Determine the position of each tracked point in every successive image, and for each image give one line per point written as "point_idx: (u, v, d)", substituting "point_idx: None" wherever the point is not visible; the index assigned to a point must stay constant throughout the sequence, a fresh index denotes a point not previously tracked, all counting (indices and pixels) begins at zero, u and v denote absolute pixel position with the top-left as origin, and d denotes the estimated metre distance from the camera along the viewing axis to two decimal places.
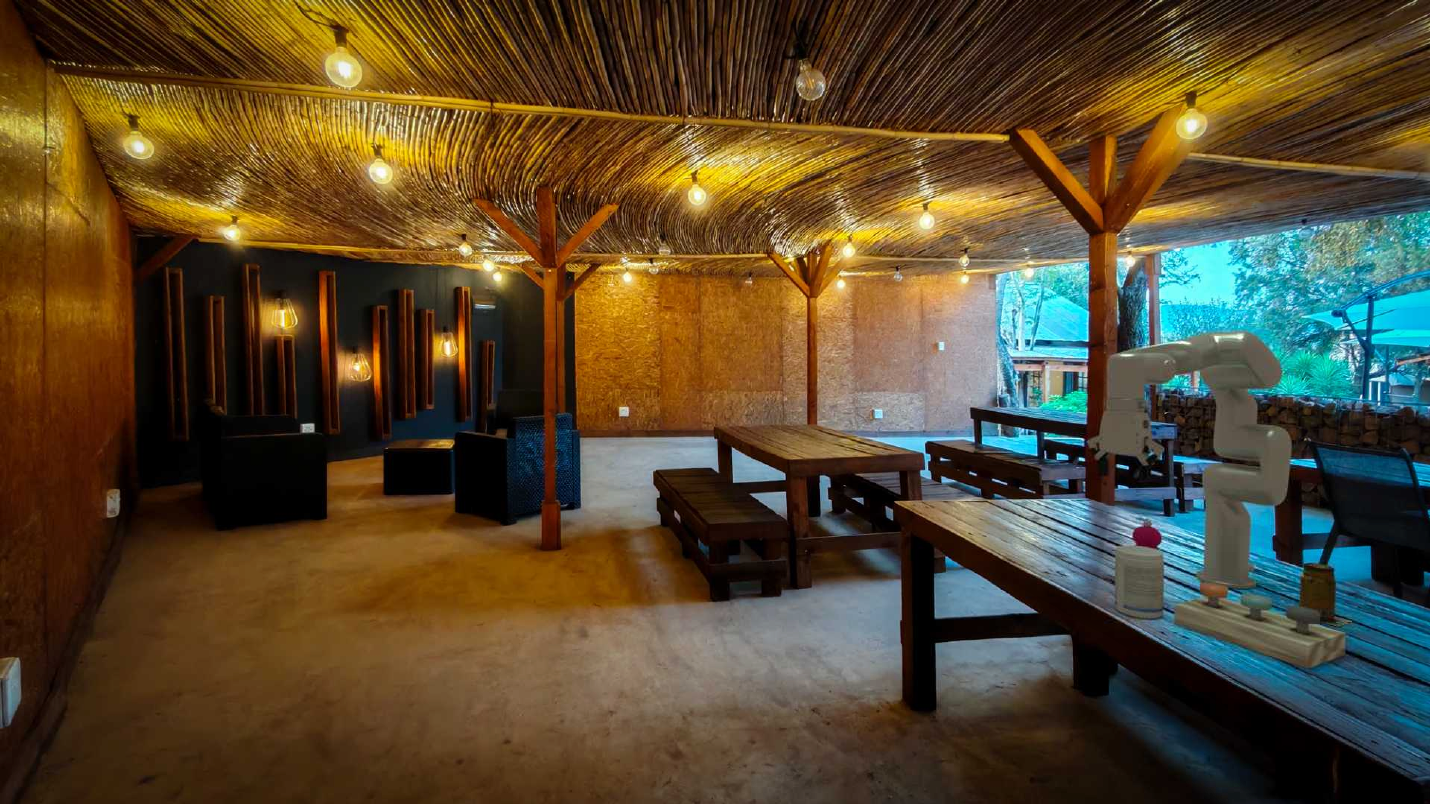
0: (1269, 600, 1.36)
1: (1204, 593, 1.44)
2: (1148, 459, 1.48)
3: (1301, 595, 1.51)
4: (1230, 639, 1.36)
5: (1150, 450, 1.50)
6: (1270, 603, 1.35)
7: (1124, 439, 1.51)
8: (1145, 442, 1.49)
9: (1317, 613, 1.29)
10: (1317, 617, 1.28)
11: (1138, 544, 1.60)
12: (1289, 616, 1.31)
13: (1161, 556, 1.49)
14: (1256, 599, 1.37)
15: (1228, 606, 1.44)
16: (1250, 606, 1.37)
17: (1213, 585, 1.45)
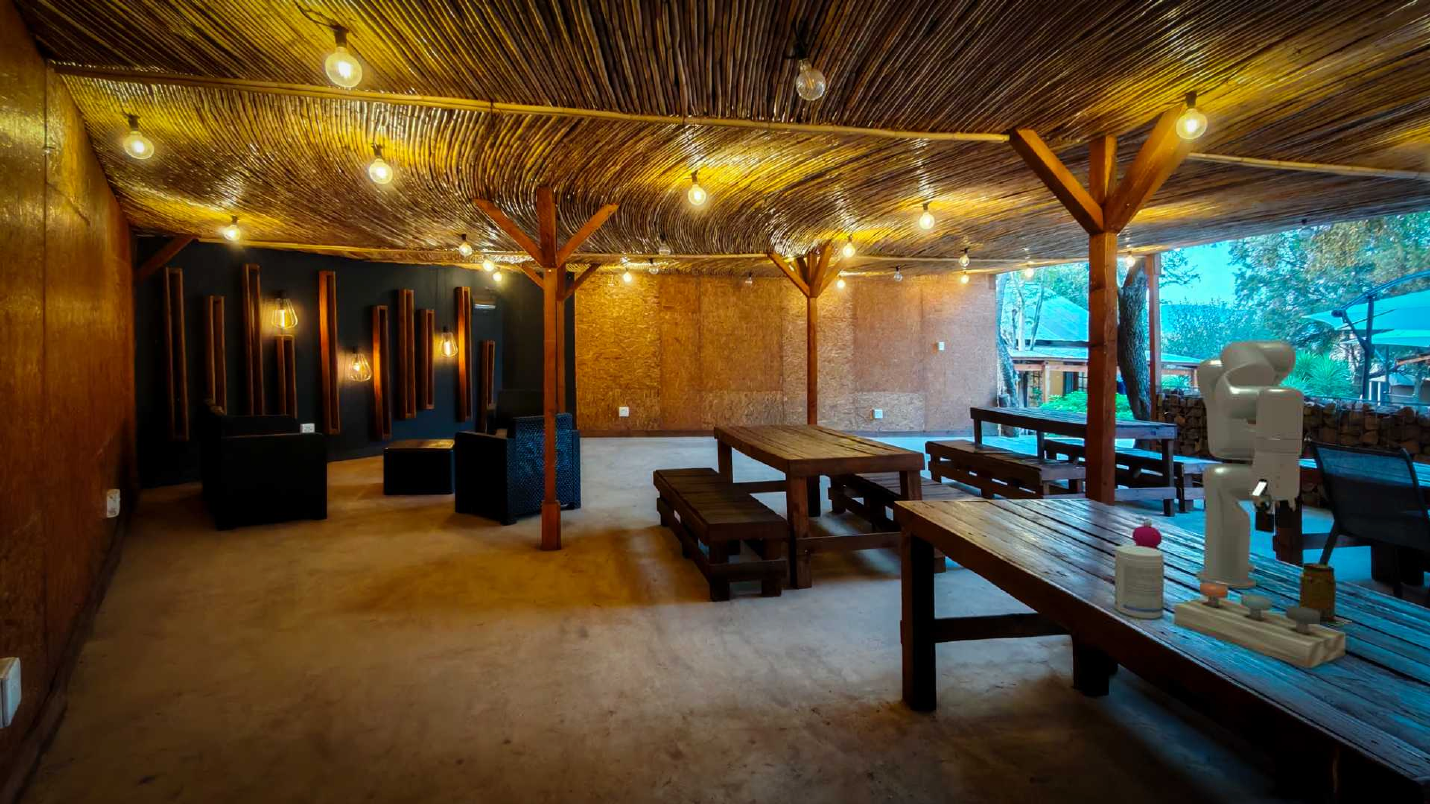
0: (1269, 600, 1.36)
1: (1204, 593, 1.44)
2: None
3: (1301, 595, 1.51)
4: (1230, 639, 1.36)
5: None
6: (1270, 603, 1.35)
7: (1294, 482, 1.37)
8: None
9: (1317, 613, 1.29)
10: (1317, 617, 1.28)
11: (1138, 544, 1.60)
12: (1289, 616, 1.31)
13: (1161, 556, 1.49)
14: (1256, 599, 1.37)
15: (1228, 606, 1.44)
16: (1250, 606, 1.37)
17: (1213, 585, 1.45)
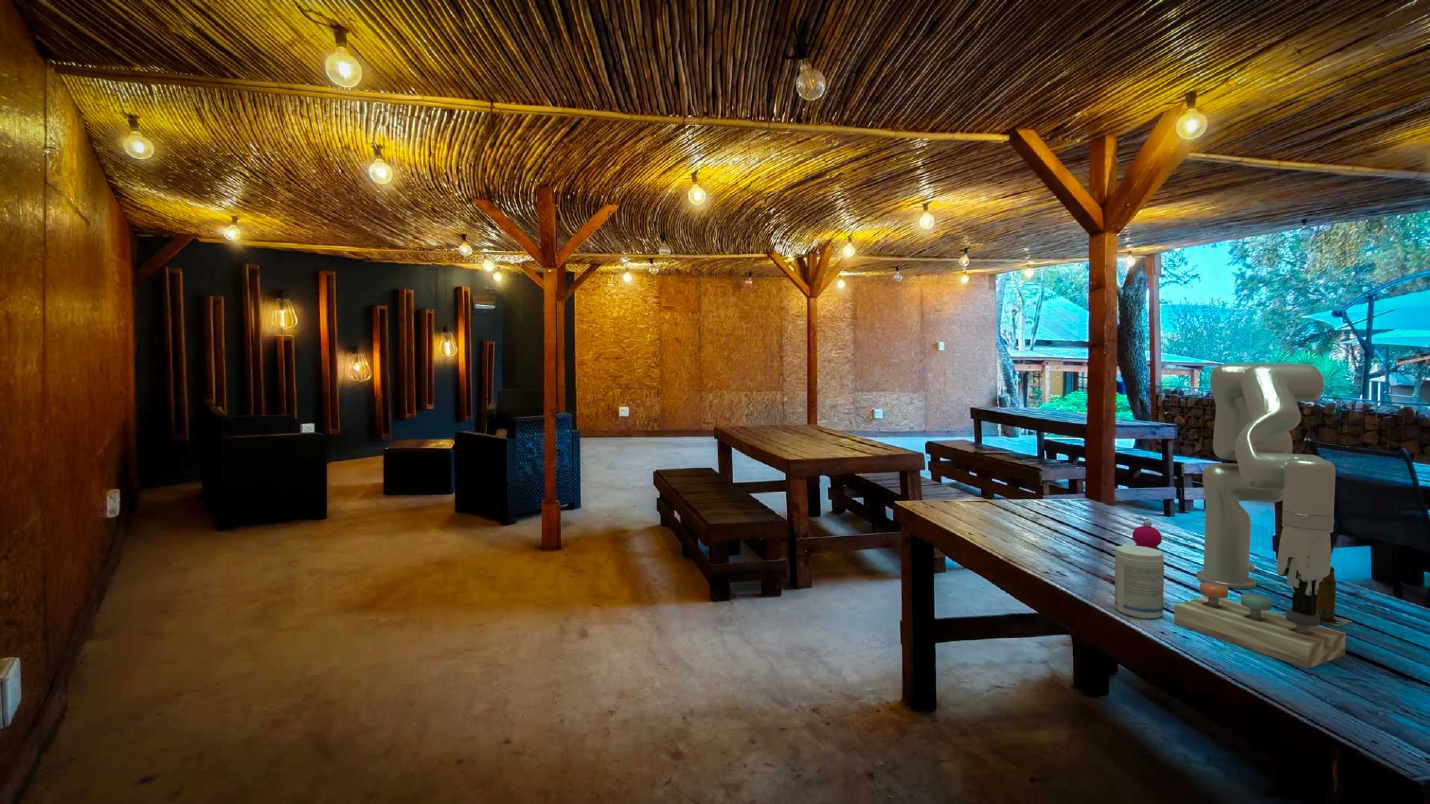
0: (1269, 600, 1.36)
1: (1204, 593, 1.44)
2: None
3: None
4: (1230, 639, 1.36)
5: None
6: (1270, 603, 1.35)
7: (1325, 560, 1.28)
8: None
9: (1317, 615, 1.29)
10: (1317, 619, 1.28)
11: (1138, 544, 1.60)
12: (1289, 618, 1.31)
13: (1161, 556, 1.49)
14: (1256, 599, 1.37)
15: (1228, 606, 1.44)
16: (1250, 606, 1.37)
17: (1213, 585, 1.45)
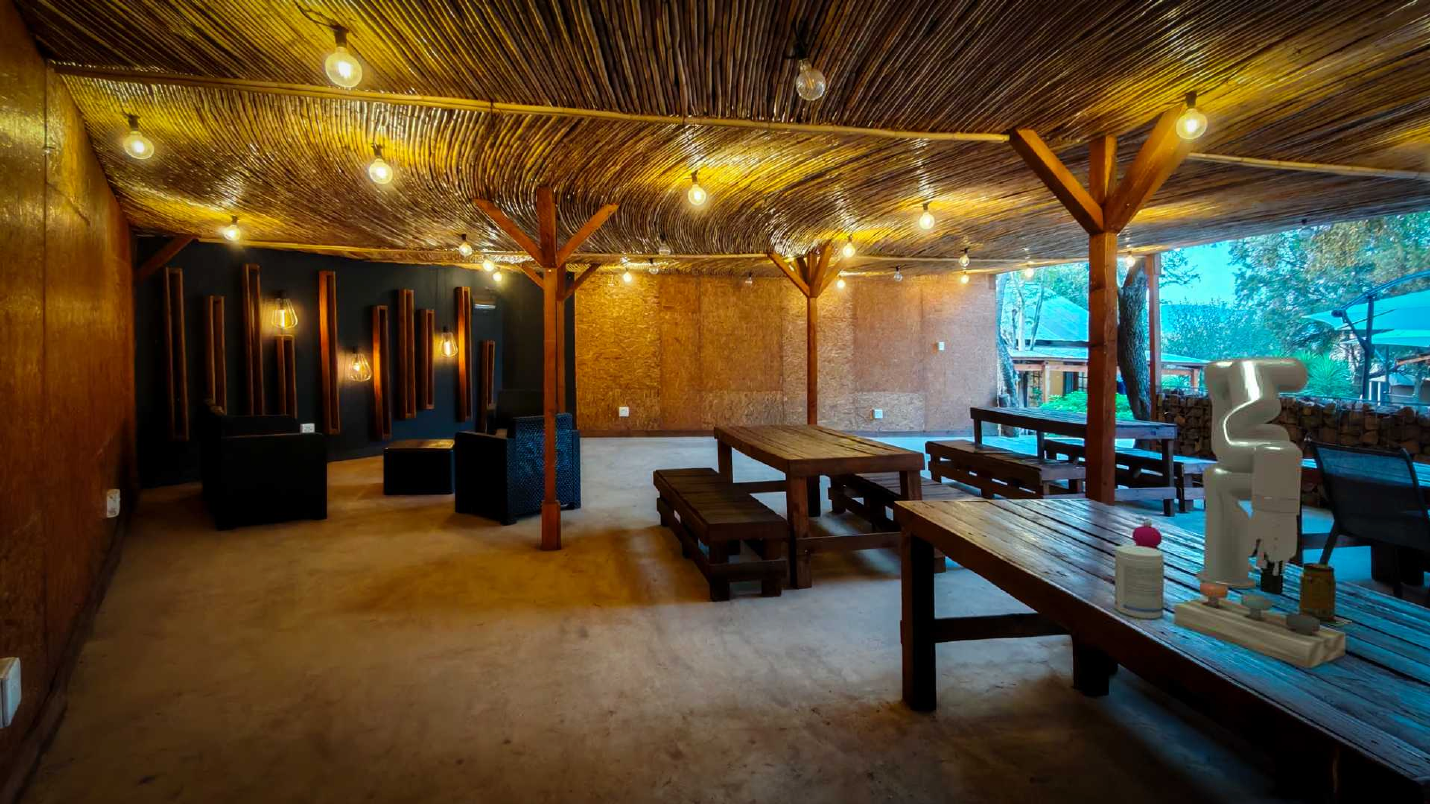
0: (1269, 600, 1.36)
1: (1204, 593, 1.44)
2: None
3: (1301, 595, 1.51)
4: (1230, 639, 1.36)
5: None
6: (1270, 603, 1.35)
7: (1291, 542, 1.33)
8: None
9: (1317, 621, 1.29)
10: (1316, 624, 1.28)
11: (1138, 544, 1.60)
12: (1289, 624, 1.31)
13: (1161, 556, 1.49)
14: (1256, 599, 1.37)
15: (1228, 606, 1.44)
16: (1250, 606, 1.37)
17: (1213, 585, 1.45)
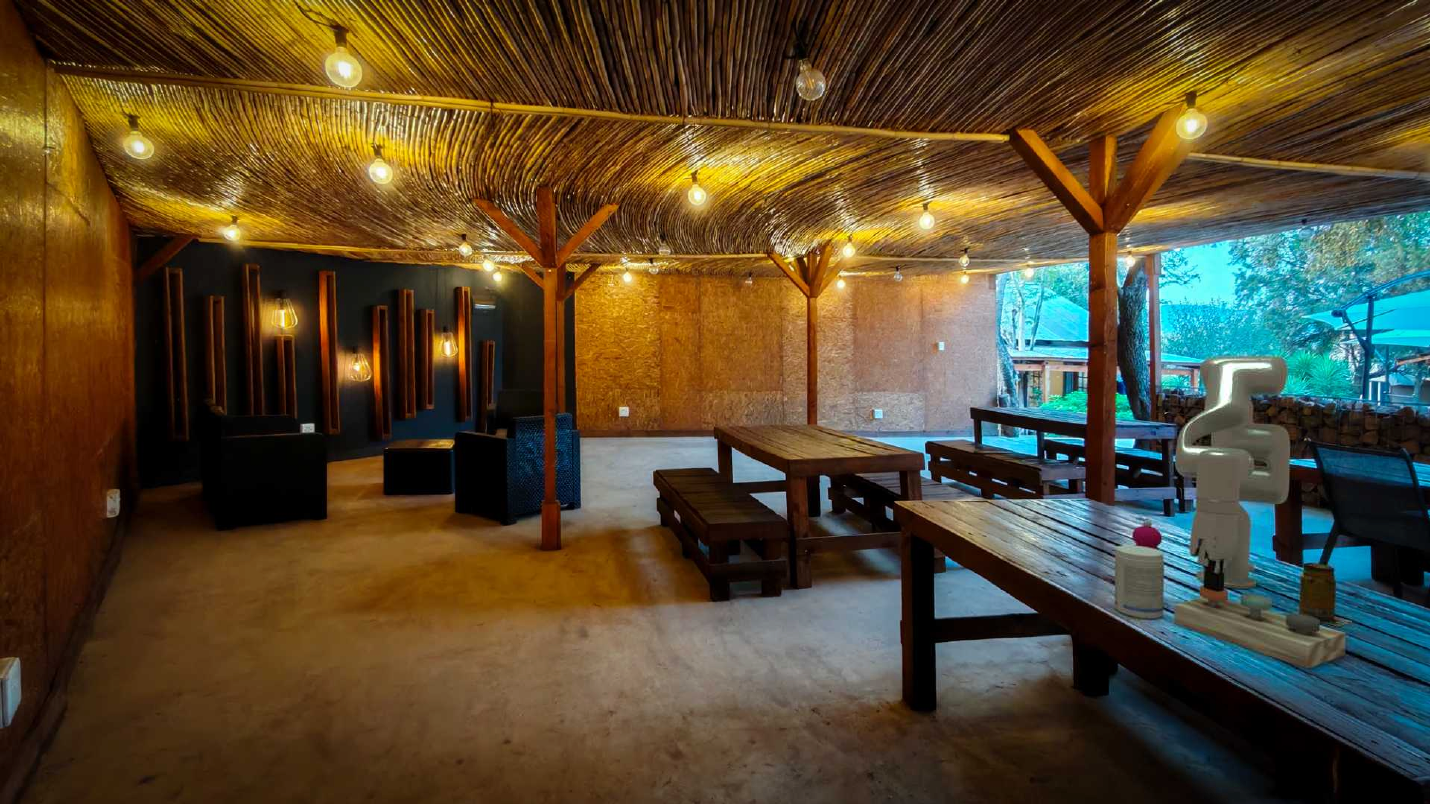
0: (1269, 600, 1.36)
1: (1204, 596, 1.45)
2: None
3: (1301, 595, 1.51)
4: (1230, 639, 1.36)
5: None
6: (1270, 603, 1.35)
7: (1231, 542, 1.43)
8: None
9: (1317, 621, 1.29)
10: (1316, 624, 1.28)
11: (1138, 544, 1.60)
12: (1289, 624, 1.31)
13: (1161, 556, 1.49)
14: (1256, 599, 1.37)
15: (1228, 606, 1.44)
16: (1250, 606, 1.37)
17: None
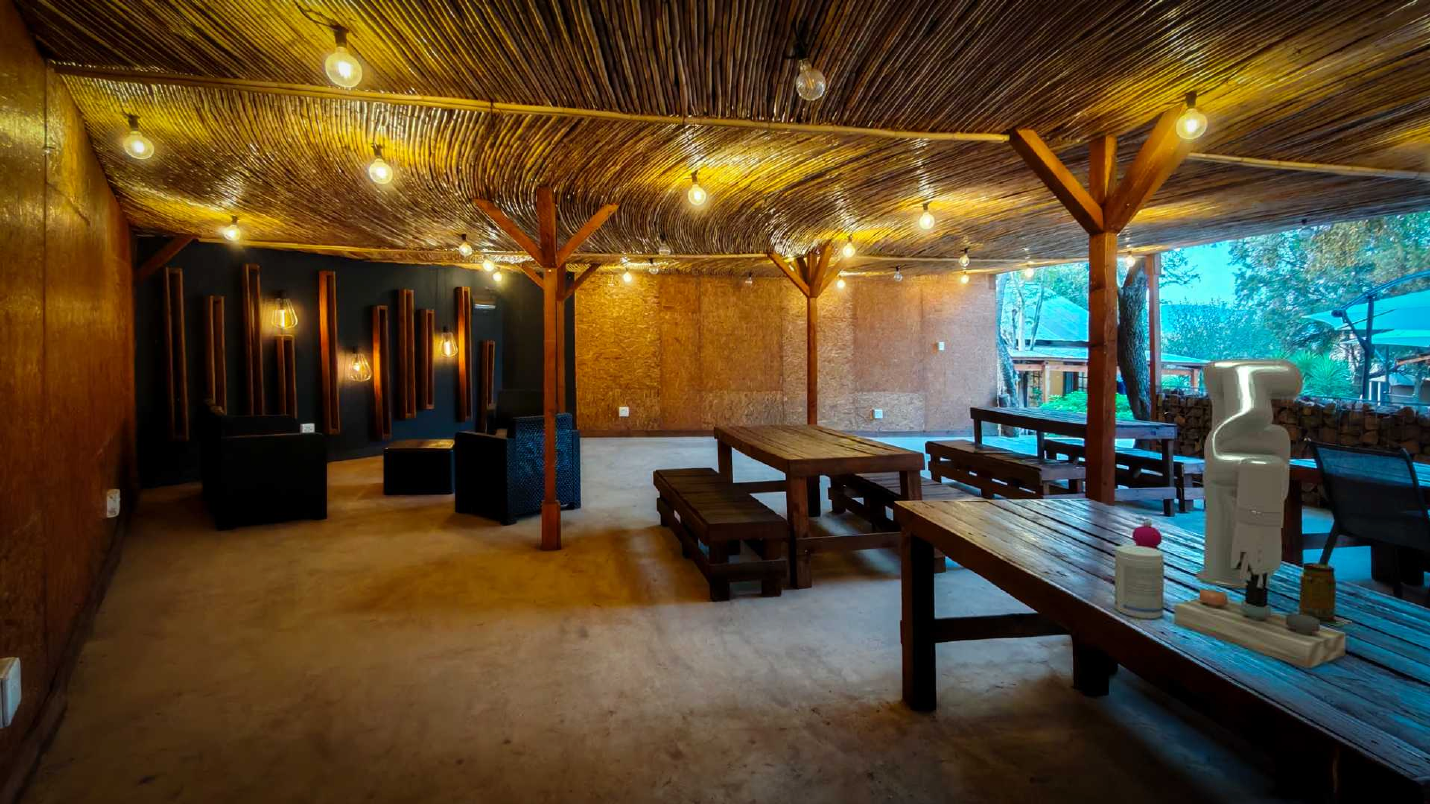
0: (1269, 607, 1.36)
1: (1204, 600, 1.45)
2: None
3: (1301, 595, 1.51)
4: (1230, 639, 1.36)
5: None
6: (1269, 610, 1.36)
7: (1275, 555, 1.36)
8: None
9: (1317, 621, 1.29)
10: (1316, 624, 1.28)
11: (1138, 544, 1.60)
12: (1289, 624, 1.31)
13: (1161, 556, 1.49)
14: (1255, 606, 1.37)
15: (1228, 606, 1.44)
16: (1250, 613, 1.37)
17: (1213, 592, 1.46)
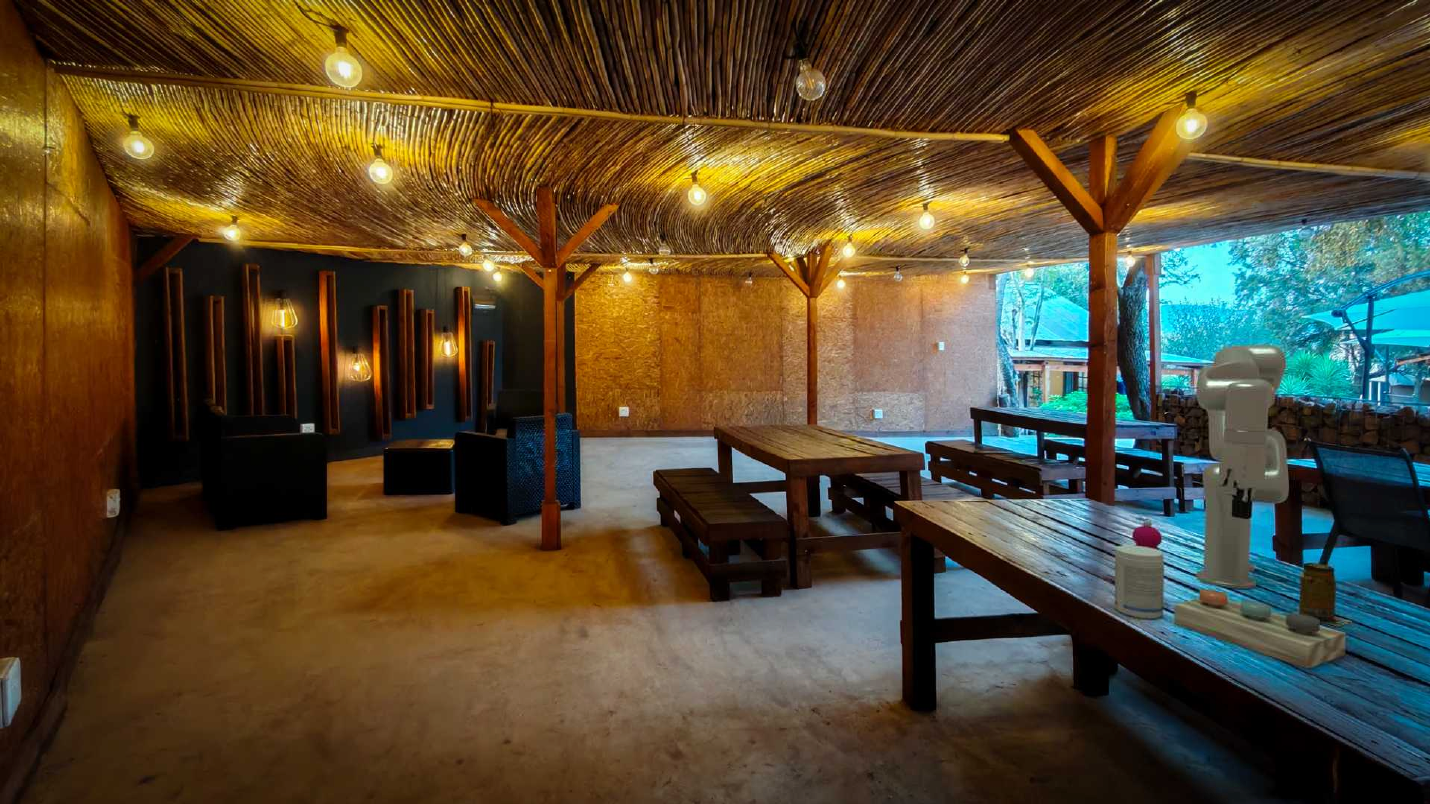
0: (1269, 607, 1.36)
1: (1204, 600, 1.45)
2: None
3: (1301, 595, 1.51)
4: (1230, 639, 1.36)
5: None
6: (1269, 610, 1.36)
7: (1259, 471, 1.46)
8: None
9: (1317, 621, 1.29)
10: (1316, 624, 1.28)
11: (1138, 544, 1.60)
12: (1289, 624, 1.31)
13: (1161, 556, 1.49)
14: (1255, 606, 1.37)
15: (1228, 606, 1.44)
16: (1250, 613, 1.37)
17: (1213, 592, 1.46)
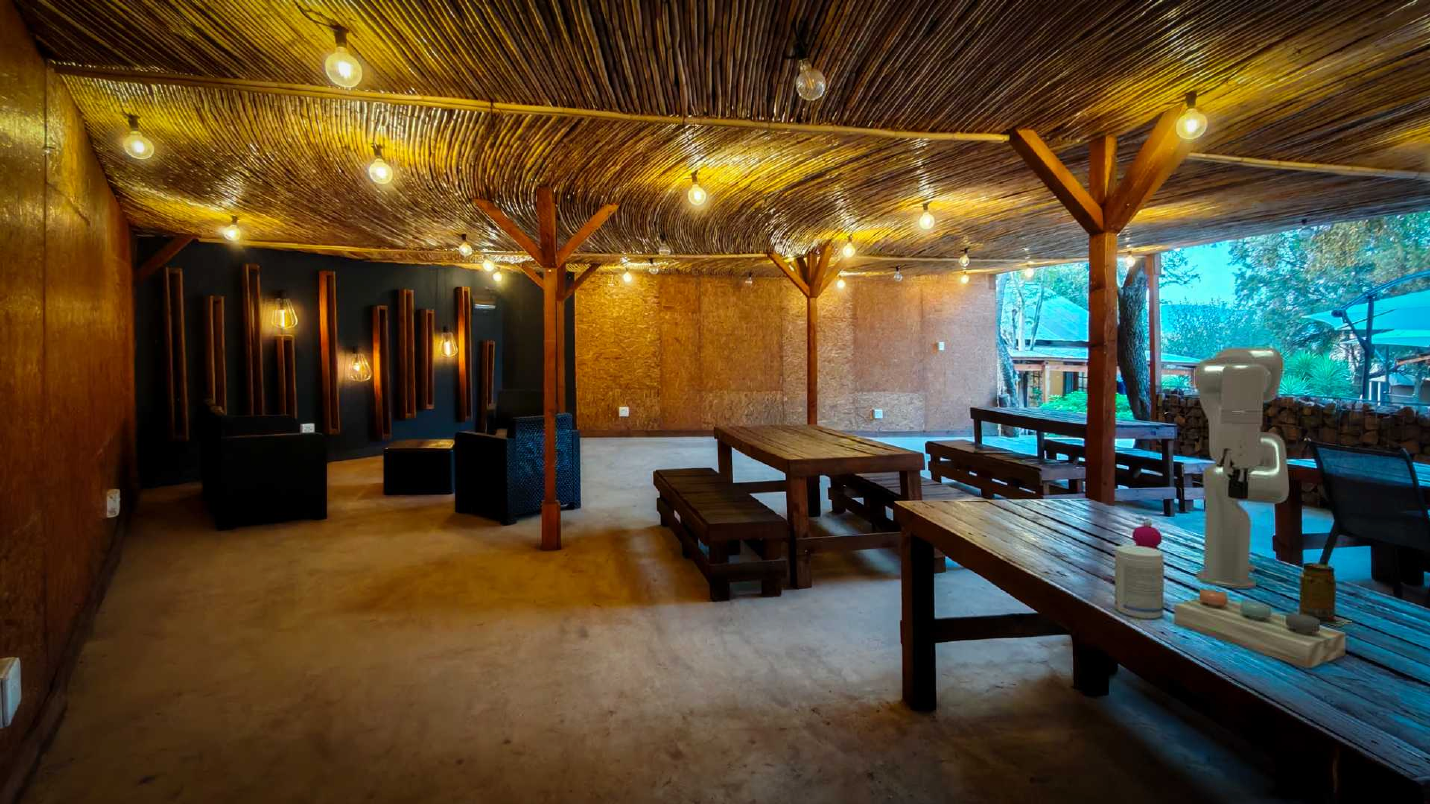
0: (1269, 607, 1.36)
1: (1204, 600, 1.45)
2: None
3: (1301, 595, 1.51)
4: (1230, 639, 1.36)
5: None
6: (1269, 610, 1.36)
7: (1255, 451, 1.49)
8: None
9: (1317, 621, 1.29)
10: (1316, 624, 1.28)
11: (1138, 544, 1.60)
12: (1289, 624, 1.31)
13: (1161, 556, 1.49)
14: (1255, 606, 1.37)
15: (1228, 606, 1.44)
16: (1250, 613, 1.37)
17: (1213, 592, 1.46)
